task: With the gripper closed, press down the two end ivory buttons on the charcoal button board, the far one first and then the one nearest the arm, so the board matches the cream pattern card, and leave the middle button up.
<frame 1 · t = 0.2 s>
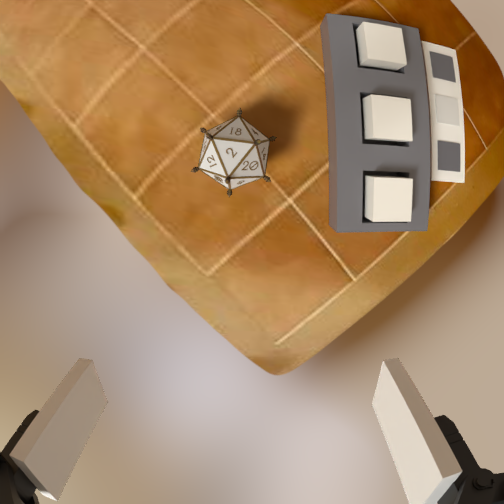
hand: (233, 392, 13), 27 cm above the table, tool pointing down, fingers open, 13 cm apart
game die: (236, 153, 36), on the table
middle button: (387, 119, 30), point 4 cm above the table, slide at 0.0 cm
button board: (373, 122, 34), on the table
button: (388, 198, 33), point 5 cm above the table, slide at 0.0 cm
pattern card: (446, 110, 33), on the table
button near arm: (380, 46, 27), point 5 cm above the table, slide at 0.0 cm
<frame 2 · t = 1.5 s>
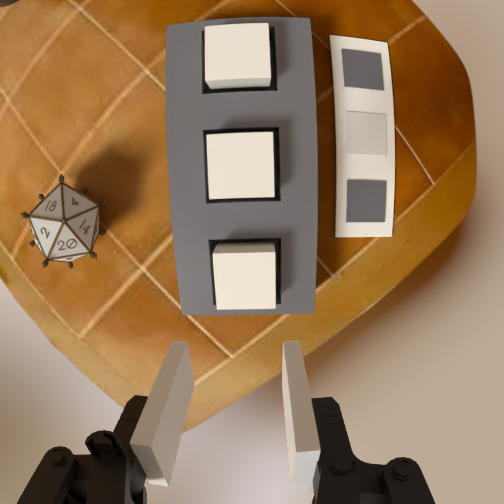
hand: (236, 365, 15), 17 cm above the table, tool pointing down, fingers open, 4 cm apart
game die: (85, 215, 30), on the table
middle button: (241, 164, 24), point 5 cm above the table, slide at 0.0 cm
button board: (244, 164, 28), on the table
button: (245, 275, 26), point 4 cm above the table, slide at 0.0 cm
pattern card: (365, 133, 27), on the table
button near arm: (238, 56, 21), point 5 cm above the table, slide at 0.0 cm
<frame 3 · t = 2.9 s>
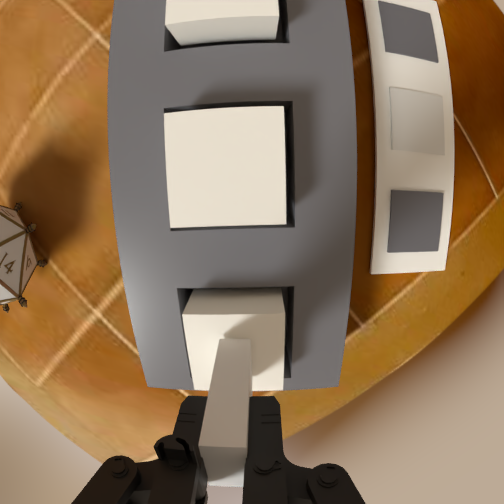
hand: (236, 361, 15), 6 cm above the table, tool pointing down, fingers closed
game die: (24, 239, 20), on the table
middle button: (228, 165, 14), point 4 cm above the table, slide at 0.0 cm
button board: (235, 163, 18), on the table
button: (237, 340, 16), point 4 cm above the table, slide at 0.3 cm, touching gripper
pattern card: (415, 122, 17), on the table
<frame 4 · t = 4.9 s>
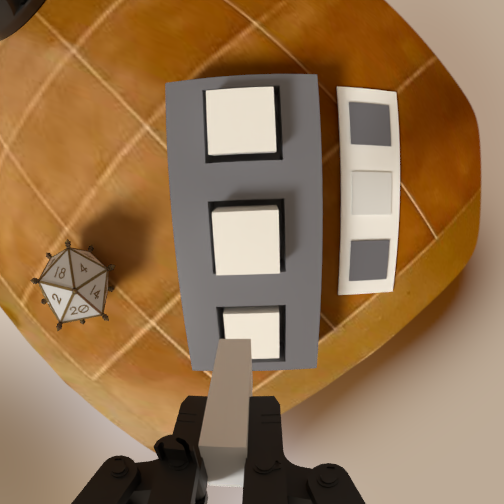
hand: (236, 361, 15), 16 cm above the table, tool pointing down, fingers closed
game die: (93, 271, 31), on the table
middle button: (247, 238, 25), point 4 cm above the table, slide at 0.0 cm
button board: (249, 227, 29), on the table
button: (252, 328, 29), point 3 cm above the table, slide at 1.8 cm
pattern card: (370, 192, 28), on the table
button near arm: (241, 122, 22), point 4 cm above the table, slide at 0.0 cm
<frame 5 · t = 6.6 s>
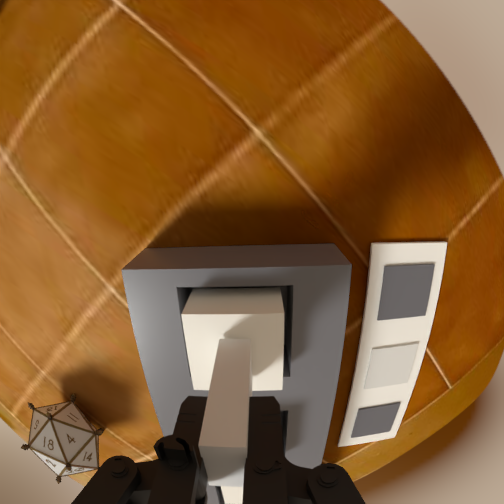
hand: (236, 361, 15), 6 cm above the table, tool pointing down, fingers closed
game die: (80, 411, 25), on the table
button board: (245, 401, 23), on the table
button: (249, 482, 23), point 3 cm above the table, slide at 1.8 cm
pattern card: (389, 363, 22), on the table
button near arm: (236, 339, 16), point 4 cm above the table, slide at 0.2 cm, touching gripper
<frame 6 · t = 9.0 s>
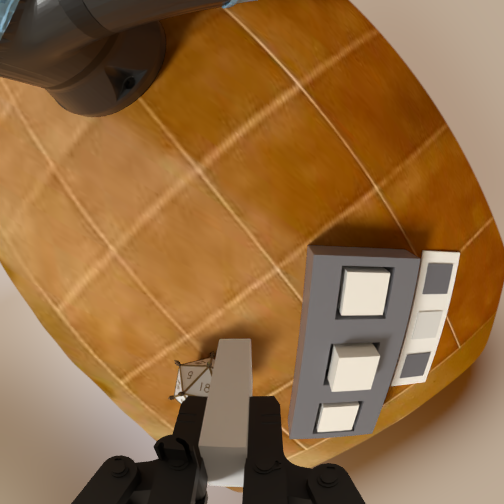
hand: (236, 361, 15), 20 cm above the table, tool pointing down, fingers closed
game die: (209, 368, 39), on the table
middle button: (352, 367, 33), point 4 cm above the table, slide at 0.0 cm
button board: (344, 347, 37), on the table
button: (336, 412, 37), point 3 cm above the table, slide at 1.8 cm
pattern card: (426, 323, 36), on the table
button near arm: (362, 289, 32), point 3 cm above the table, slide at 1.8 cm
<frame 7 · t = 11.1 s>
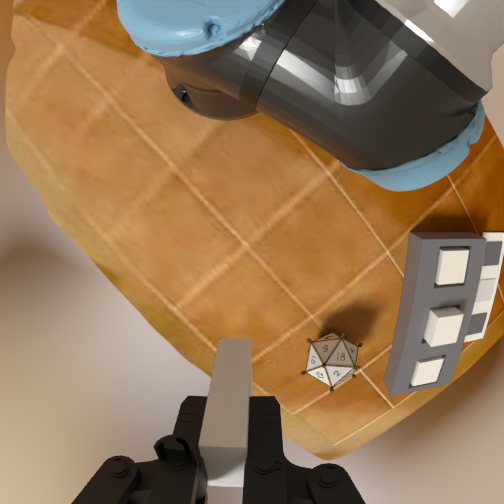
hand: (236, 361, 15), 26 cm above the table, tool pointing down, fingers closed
game die: (326, 343, 45), on the table
middle button: (443, 325, 39), point 4 cm above the table, slide at 0.0 cm
button board: (430, 312, 43), on the table
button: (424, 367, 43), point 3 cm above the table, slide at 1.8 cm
pattern card: (484, 289, 42), on the table
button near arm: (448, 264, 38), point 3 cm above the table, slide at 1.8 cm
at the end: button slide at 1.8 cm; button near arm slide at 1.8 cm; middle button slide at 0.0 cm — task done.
